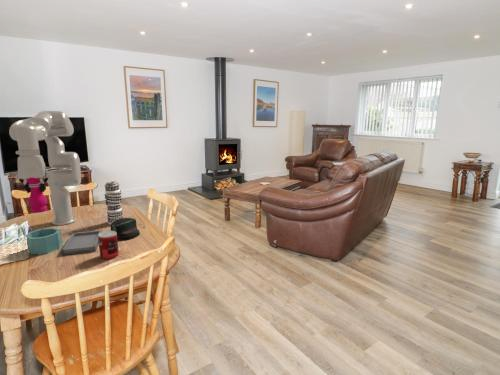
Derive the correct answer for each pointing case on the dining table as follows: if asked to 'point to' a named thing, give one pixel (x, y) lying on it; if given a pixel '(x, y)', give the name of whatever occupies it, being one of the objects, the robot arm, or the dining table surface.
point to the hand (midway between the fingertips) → (36, 191)
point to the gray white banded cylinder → (113, 201)
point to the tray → (81, 243)
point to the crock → (44, 240)
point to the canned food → (108, 244)
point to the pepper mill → (36, 196)
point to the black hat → (125, 229)
